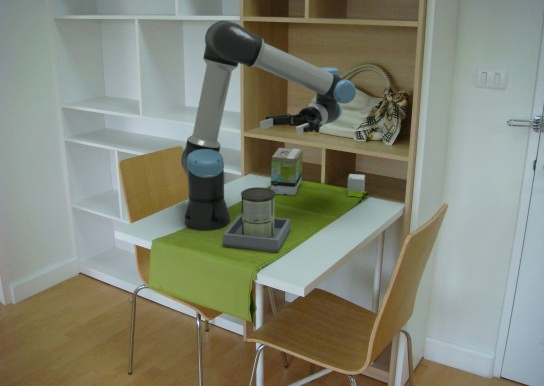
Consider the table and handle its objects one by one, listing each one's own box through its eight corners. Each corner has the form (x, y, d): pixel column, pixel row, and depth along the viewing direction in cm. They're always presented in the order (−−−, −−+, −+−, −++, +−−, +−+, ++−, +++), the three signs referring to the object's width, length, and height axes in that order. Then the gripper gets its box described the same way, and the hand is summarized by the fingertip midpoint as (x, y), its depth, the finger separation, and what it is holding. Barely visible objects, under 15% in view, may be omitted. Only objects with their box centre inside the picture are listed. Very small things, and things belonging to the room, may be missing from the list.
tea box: (296, 196, 213) (296, 158, 209) (270, 194, 215) (270, 156, 210) (302, 183, 227) (302, 148, 222) (277, 182, 229) (277, 146, 224)
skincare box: (364, 192, 217) (365, 174, 215) (362, 198, 212) (364, 179, 209) (348, 191, 219) (349, 173, 216) (346, 196, 213) (347, 178, 211)
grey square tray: (223, 246, 170) (222, 234, 169) (239, 225, 186) (239, 214, 184) (277, 252, 166) (278, 240, 165) (290, 230, 182) (290, 219, 180)
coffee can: (236, 232, 178) (235, 190, 173) (265, 226, 182) (265, 185, 178) (250, 244, 169) (249, 200, 164) (280, 238, 174) (281, 195, 169)
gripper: (344, 132, 189) (312, 145, 172) (282, 123, 202) (246, 134, 185) (345, 110, 186) (313, 121, 170) (282, 102, 199) (246, 112, 183)
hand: (278, 128), depth 177 cm, fingers open, 13 cm apart
